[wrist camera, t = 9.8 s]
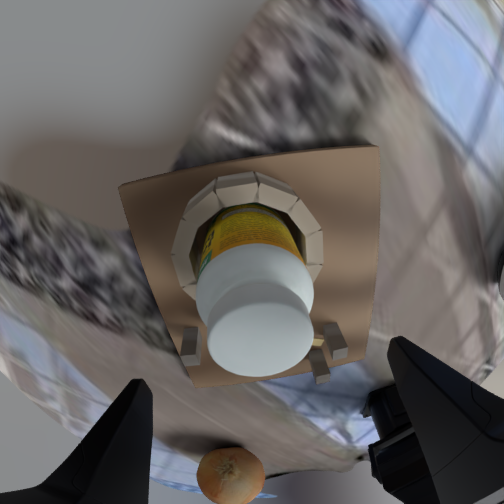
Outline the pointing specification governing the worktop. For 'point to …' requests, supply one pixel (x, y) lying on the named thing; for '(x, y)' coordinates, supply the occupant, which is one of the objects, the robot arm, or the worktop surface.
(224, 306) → the supplement bottle
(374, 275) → the board
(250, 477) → the onion
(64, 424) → the worktop surface
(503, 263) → the spread jar
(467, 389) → the robot arm
